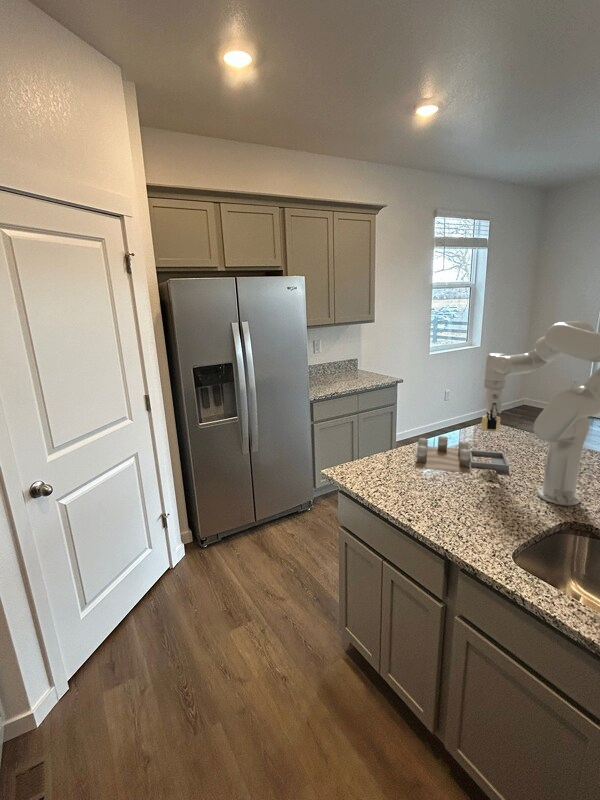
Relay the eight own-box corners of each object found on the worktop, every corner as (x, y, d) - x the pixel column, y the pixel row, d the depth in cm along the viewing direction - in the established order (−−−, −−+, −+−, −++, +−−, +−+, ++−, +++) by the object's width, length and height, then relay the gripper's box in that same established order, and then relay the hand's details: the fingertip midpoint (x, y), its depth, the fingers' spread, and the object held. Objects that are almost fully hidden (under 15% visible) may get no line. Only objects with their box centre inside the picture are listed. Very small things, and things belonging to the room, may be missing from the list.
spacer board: (470, 475, 154) (472, 459, 153) (415, 470, 161) (416, 454, 159) (466, 451, 178) (467, 437, 176) (418, 447, 185) (419, 433, 183)
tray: (508, 472, 156) (509, 465, 155) (470, 468, 161) (471, 462, 160) (503, 459, 169) (503, 452, 168) (468, 456, 173) (468, 449, 173)
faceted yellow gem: (498, 427, 163) (499, 415, 161) (500, 431, 157) (501, 419, 156) (480, 425, 165) (481, 414, 164) (481, 430, 159) (482, 418, 158)
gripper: (508, 389, 147) (503, 434, 152) (501, 380, 163) (497, 420, 167) (486, 388, 149) (482, 432, 154) (482, 379, 165) (478, 419, 170)
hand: (490, 426), depth 161 cm, fingers closed on faceted yellow gem, 6 cm apart
